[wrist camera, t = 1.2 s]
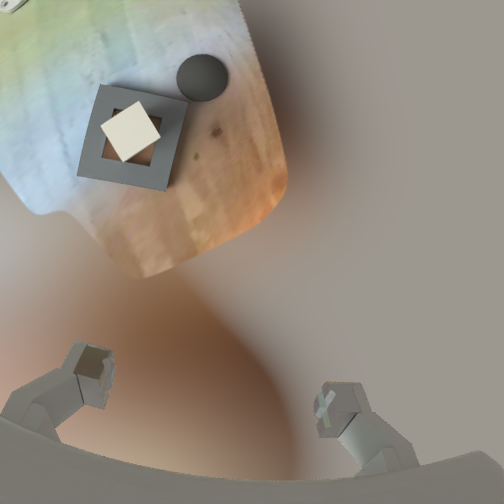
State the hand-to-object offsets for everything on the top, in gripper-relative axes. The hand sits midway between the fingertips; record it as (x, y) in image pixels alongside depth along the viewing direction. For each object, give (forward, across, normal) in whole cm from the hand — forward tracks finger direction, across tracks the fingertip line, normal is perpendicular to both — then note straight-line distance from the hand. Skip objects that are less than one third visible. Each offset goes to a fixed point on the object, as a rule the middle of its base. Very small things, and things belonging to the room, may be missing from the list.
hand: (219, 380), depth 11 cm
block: (+33, +14, -3) cm, 36 cm away
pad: (+38, +7, -12) cm, 40 cm away
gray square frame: (+34, +14, -3) cm, 37 cm away
